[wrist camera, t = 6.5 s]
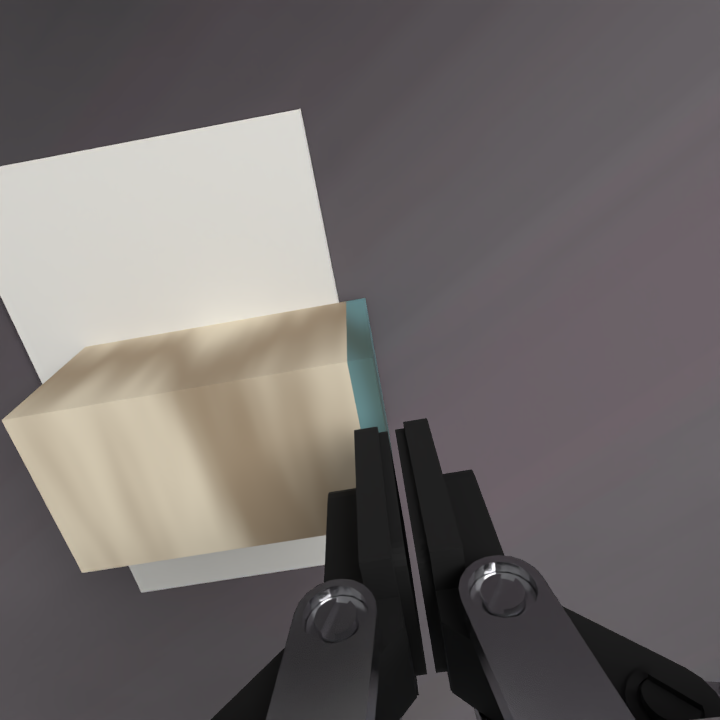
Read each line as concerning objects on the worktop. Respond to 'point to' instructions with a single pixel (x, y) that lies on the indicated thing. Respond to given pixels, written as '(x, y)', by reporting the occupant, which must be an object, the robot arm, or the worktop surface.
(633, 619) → the worktop surface
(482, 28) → the worktop surface
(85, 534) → the tall block
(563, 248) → the worktop surface
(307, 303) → the mat
